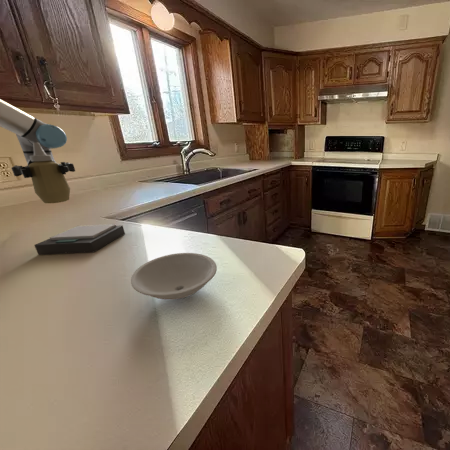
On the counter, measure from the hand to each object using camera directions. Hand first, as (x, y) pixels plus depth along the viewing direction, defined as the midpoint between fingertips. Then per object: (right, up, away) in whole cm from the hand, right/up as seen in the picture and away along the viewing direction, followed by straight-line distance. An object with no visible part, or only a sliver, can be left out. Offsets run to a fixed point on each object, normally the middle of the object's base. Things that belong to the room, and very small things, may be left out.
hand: (46, 171), depth 72 cm
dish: (+51, -30, -23) cm, 63 cm away
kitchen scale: (+9, -21, +3) cm, 24 cm away
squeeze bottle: (-3, -9, +7) cm, 11 cm away
